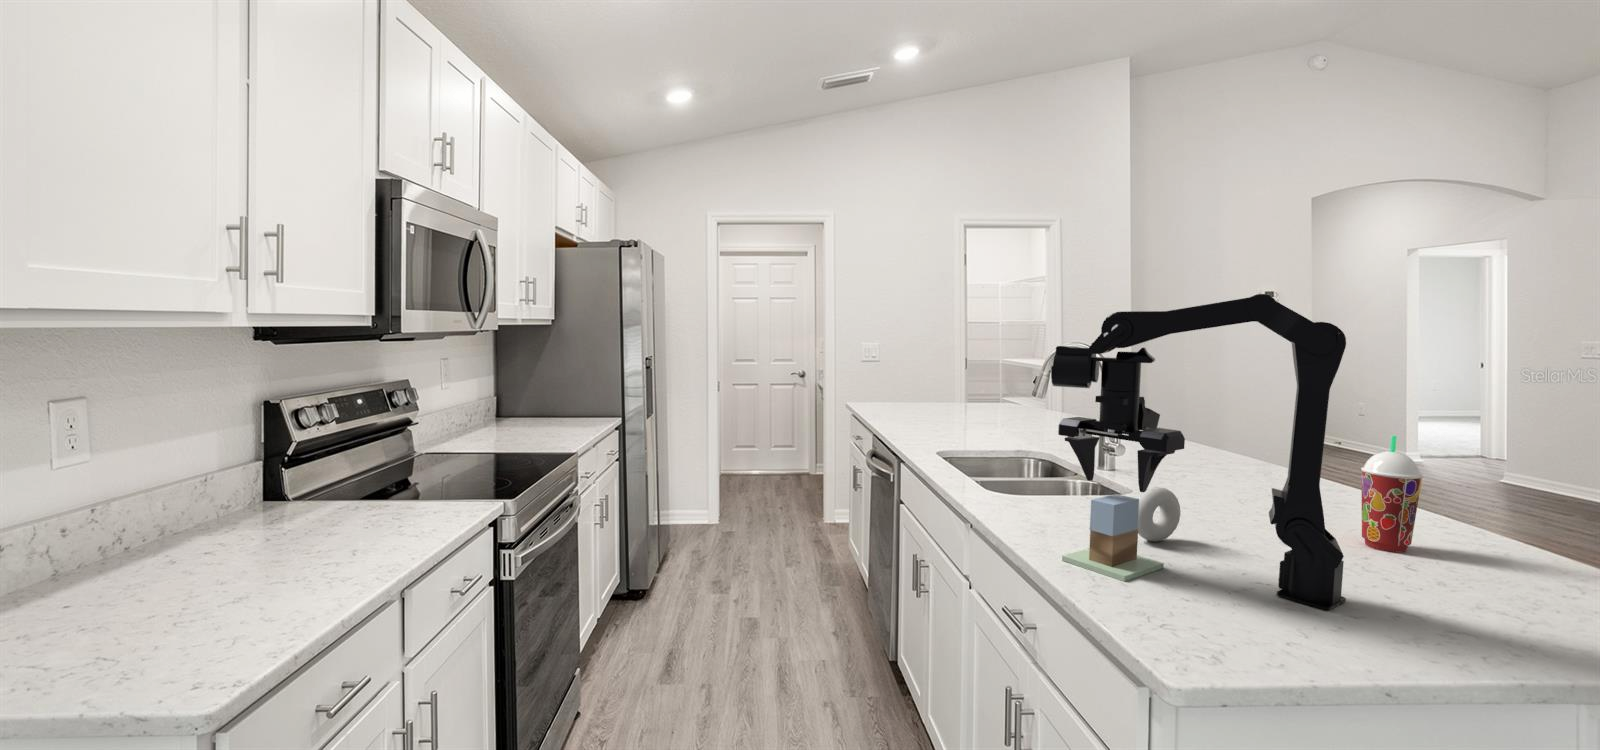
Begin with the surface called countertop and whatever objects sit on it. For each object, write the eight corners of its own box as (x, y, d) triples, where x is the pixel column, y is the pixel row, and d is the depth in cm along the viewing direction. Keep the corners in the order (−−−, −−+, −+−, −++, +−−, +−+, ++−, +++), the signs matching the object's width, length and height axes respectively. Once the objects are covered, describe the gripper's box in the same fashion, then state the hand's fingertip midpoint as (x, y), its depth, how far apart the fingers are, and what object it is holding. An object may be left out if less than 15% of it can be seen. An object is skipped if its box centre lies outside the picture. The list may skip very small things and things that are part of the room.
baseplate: (1163, 567, 114) (1163, 563, 114) (1124, 581, 108) (1124, 576, 107) (1101, 549, 123) (1101, 544, 123) (1062, 560, 117) (1062, 555, 117)
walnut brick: (1136, 559, 115) (1138, 529, 115) (1111, 567, 111) (1113, 536, 111) (1114, 552, 119) (1115, 523, 118) (1089, 559, 115) (1090, 529, 114)
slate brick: (1137, 529, 115) (1139, 499, 115) (1112, 536, 111) (1114, 505, 111) (1114, 523, 118) (1116, 494, 118) (1089, 529, 114) (1091, 499, 114)
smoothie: (1429, 555, 121) (1439, 440, 120) (1380, 554, 121) (1389, 439, 120) (1390, 540, 130) (1398, 432, 128) (1344, 539, 130) (1351, 432, 128)
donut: (1141, 547, 124) (1144, 491, 123) (1126, 541, 127) (1128, 486, 127) (1183, 541, 128) (1186, 487, 127) (1167, 535, 131) (1170, 482, 130)
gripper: (1205, 393, 110) (1200, 491, 111) (1097, 383, 125) (1093, 470, 126) (1167, 396, 103) (1161, 501, 105) (1058, 386, 119) (1054, 477, 120)
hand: (1115, 485), depth 114 cm, fingers open, 9 cm apart
